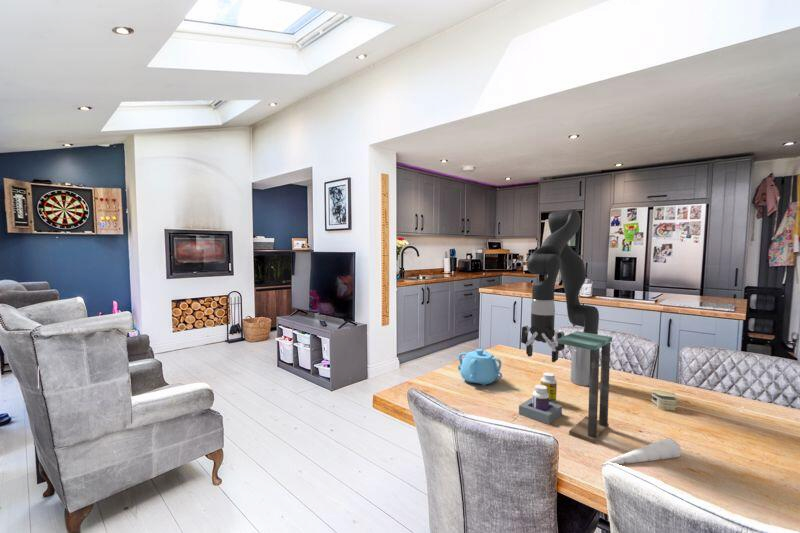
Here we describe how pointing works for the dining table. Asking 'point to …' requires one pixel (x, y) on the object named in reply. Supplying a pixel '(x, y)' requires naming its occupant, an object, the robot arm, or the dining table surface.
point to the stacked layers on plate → (664, 400)
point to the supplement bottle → (550, 385)
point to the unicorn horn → (650, 452)
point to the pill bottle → (540, 398)
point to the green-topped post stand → (593, 383)
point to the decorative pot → (479, 367)
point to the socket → (540, 412)
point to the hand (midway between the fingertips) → (541, 358)
